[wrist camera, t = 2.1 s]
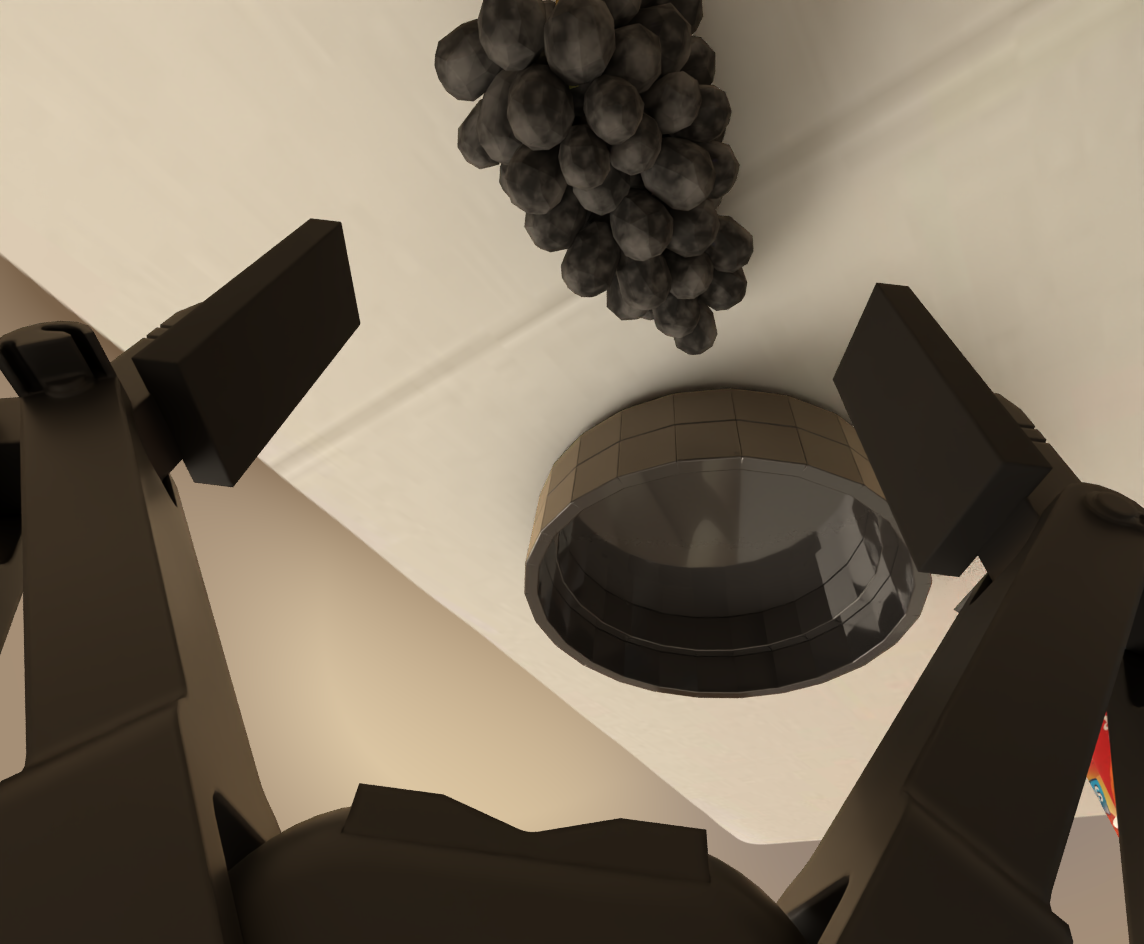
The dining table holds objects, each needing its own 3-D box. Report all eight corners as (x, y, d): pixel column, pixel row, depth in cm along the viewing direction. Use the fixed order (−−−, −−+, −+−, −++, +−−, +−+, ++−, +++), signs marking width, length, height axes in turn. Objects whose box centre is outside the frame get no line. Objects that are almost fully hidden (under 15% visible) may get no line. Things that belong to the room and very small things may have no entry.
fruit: (774, 426, 20) (583, -128, 11) (580, 443, 25) (341, 65, 16) (809, 288, 25) (694, -172, 16) (641, 325, 30) (483, -14, 21)
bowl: (970, 410, 29) (1026, 492, 25) (815, 639, 44) (833, 716, 39) (548, 358, 30) (529, 429, 25) (534, 601, 44) (521, 673, 40)
